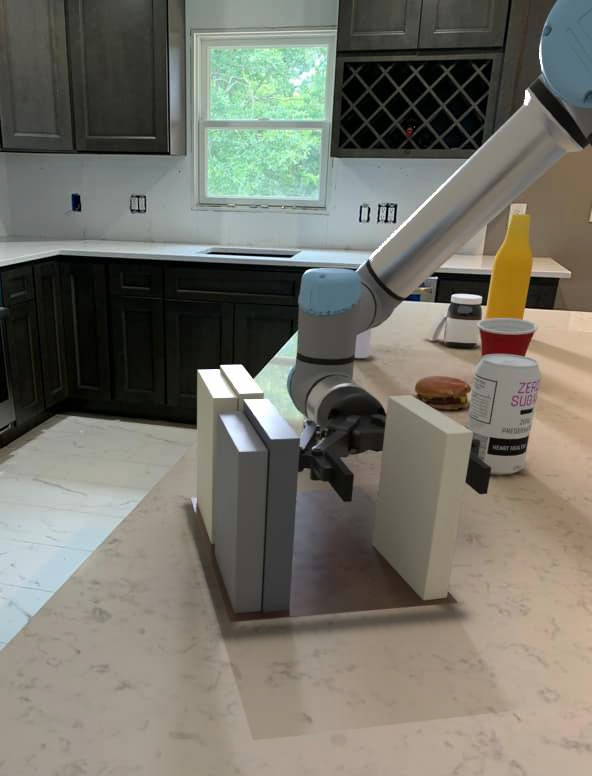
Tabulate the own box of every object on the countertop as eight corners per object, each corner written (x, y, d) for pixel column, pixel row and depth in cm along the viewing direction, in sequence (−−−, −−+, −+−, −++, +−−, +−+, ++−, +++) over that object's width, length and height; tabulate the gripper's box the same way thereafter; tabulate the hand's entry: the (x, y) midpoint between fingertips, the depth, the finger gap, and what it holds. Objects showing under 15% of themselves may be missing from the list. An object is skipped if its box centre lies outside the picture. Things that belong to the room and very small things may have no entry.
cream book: (393, 542, 76) (411, 394, 70) (447, 598, 66) (473, 431, 60) (371, 545, 76) (388, 396, 69) (423, 601, 66) (447, 433, 60)
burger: (417, 394, 134) (420, 369, 132) (469, 400, 131) (473, 375, 129) (410, 409, 125) (413, 382, 124) (466, 416, 123) (470, 389, 121)
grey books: (262, 550, 74) (268, 398, 68) (289, 610, 64) (300, 438, 58) (214, 554, 73) (216, 400, 67) (234, 614, 63) (239, 440, 57)
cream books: (237, 498, 86) (241, 364, 80) (257, 541, 76) (264, 392, 70) (196, 500, 85) (197, 365, 79) (211, 544, 75) (213, 394, 69)
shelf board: (359, 499, 90) (360, 488, 89) (455, 616, 66) (458, 602, 66) (189, 509, 86) (189, 497, 86) (228, 636, 63) (229, 622, 62)
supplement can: (468, 452, 106) (485, 350, 101) (528, 463, 103) (548, 358, 97) (453, 469, 100) (470, 361, 94) (516, 482, 96) (537, 370, 90)
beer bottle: (474, 334, 187) (493, 213, 176) (493, 329, 193) (512, 213, 181) (508, 340, 181) (529, 215, 169) (526, 335, 186) (548, 215, 175)
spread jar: (479, 351, 168) (487, 300, 163) (429, 348, 170) (435, 297, 165) (472, 341, 179) (479, 292, 174) (425, 338, 180) (431, 290, 176)
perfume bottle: (351, 354, 162) (359, 261, 155) (375, 358, 160) (385, 263, 152) (340, 359, 158) (347, 263, 150) (364, 363, 155) (373, 266, 147)
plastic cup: (457, 384, 141) (466, 321, 137) (484, 374, 148) (494, 315, 144) (510, 396, 134) (522, 330, 130) (536, 386, 141) (548, 323, 137)
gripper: (439, 440, 91) (532, 513, 72) (243, 449, 87) (286, 528, 68) (447, 382, 88) (547, 441, 69) (244, 387, 84) (291, 452, 65)
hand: (418, 484), depth 68 cm, fingers open, 13 cm apart
